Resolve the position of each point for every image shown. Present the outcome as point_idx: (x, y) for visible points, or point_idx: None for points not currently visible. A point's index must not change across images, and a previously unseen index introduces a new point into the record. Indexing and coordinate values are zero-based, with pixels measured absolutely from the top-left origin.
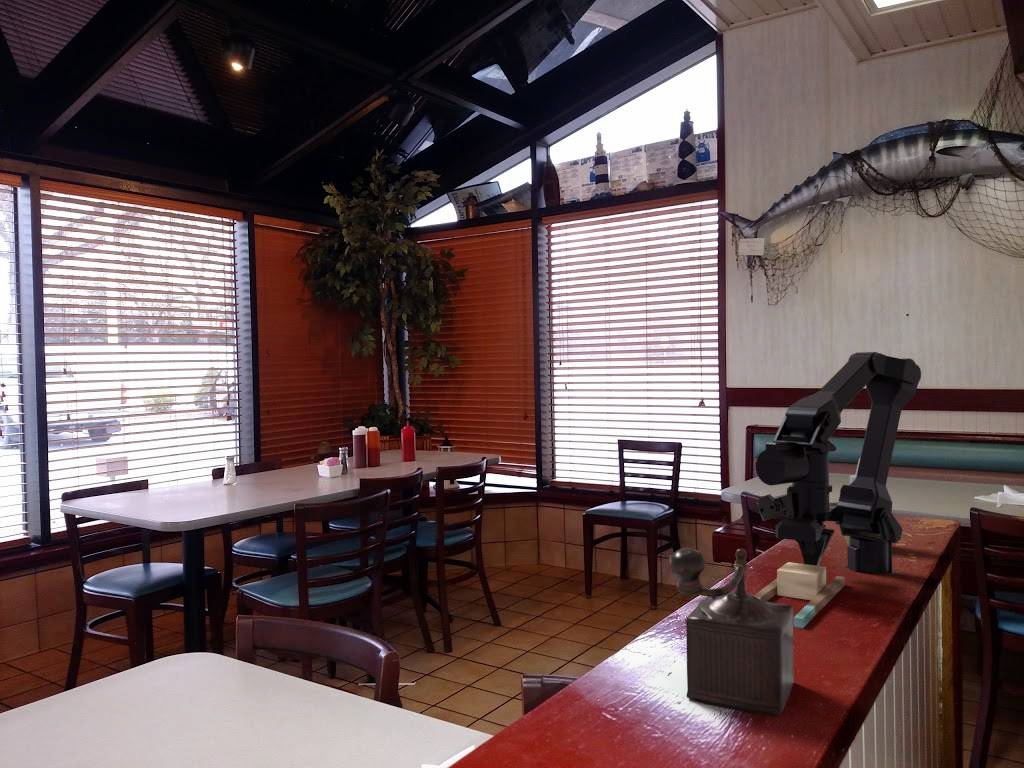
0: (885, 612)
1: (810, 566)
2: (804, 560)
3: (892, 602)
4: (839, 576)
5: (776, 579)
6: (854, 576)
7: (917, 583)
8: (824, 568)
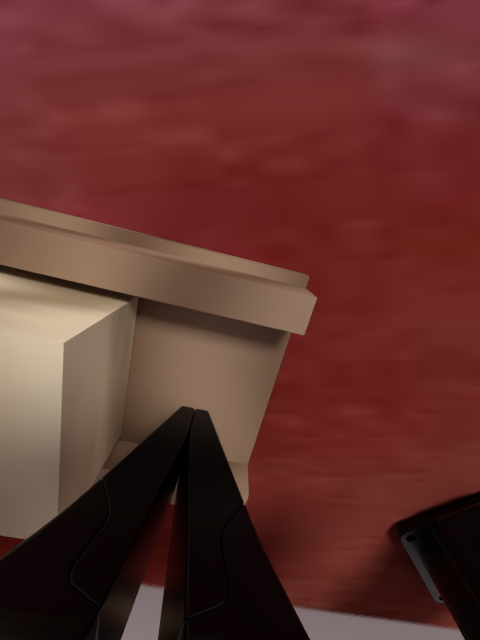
0: None
1: (17, 477)
2: (133, 451)
3: None
4: (245, 501)
5: (63, 242)
6: (419, 498)
7: (361, 614)
8: (18, 537)
